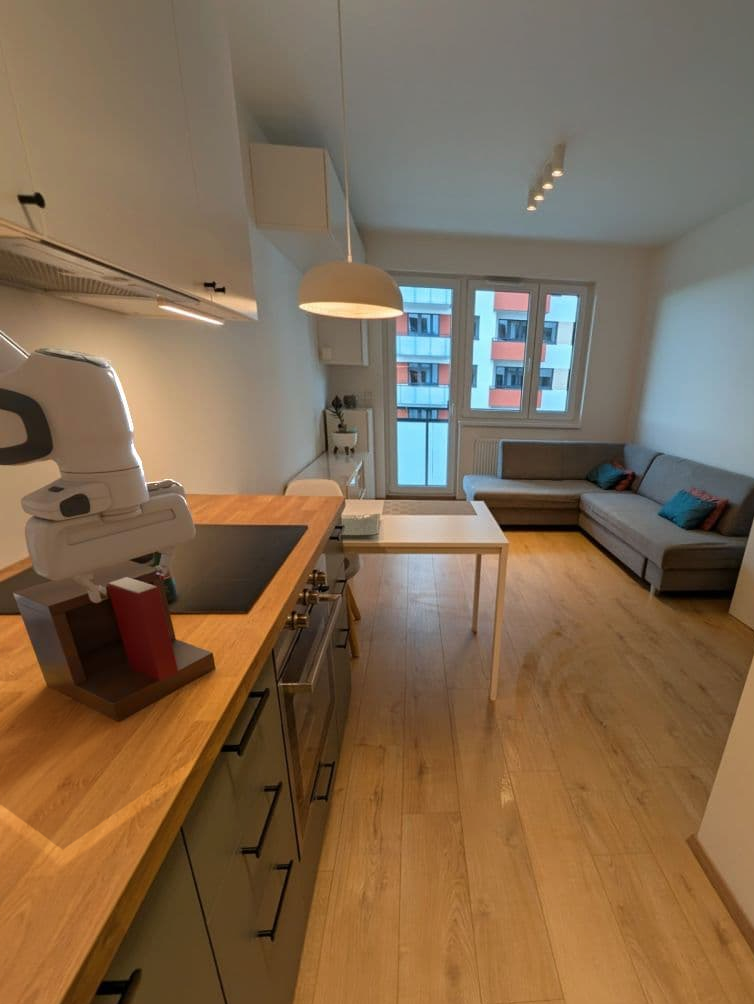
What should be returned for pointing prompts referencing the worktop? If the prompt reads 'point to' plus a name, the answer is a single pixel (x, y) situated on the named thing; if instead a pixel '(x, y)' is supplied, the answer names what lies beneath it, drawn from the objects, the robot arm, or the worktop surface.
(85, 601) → the shelf
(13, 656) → the worktop surface
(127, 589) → the book
